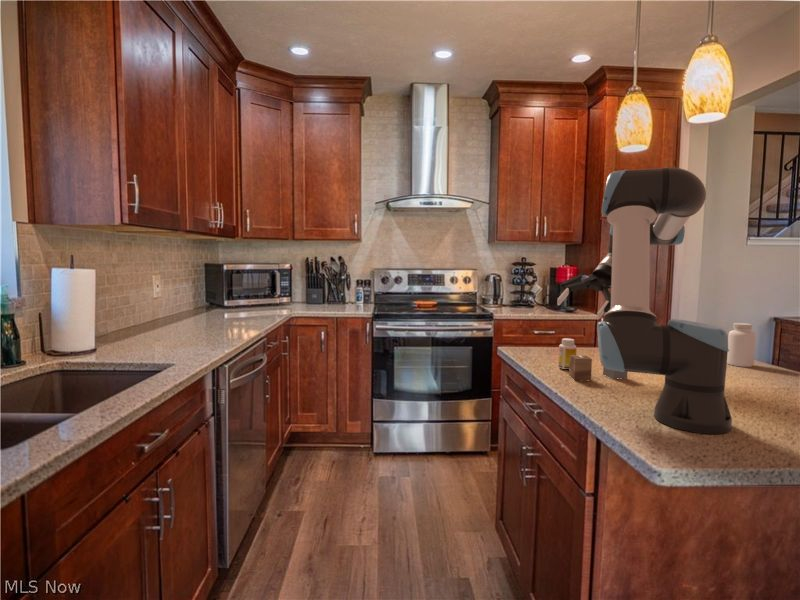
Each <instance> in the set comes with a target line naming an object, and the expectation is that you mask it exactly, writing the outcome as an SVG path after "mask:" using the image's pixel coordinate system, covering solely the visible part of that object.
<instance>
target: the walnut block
mask: <svg viewBox="0 0 800 600" xmlns="http://www.w3.org/2000/svg"><path fill="white" fill-rule="evenodd" d="M592 364H593V358H591V357H589V356H588V355H586V354H585V355H583V354H582V355H580V354H579V355H577V354H576V355H570V370H568V372H569V373H568V374H569V375H568V376H571V377H572V378H573V379H574V380H591V381H592V368H593V367H592V366H593V365H592ZM573 379H572V380H573ZM574 380H573V381H574Z"/></svg>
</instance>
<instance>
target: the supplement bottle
mask: <svg viewBox="0 0 800 600" xmlns="http://www.w3.org/2000/svg"><path fill="white" fill-rule="evenodd" d="M570 355H577V345H575V339H573V338H570V337H567V338H566V337H564V338H562V339H561V343H560V344H559V346H558V369H560V368H562V369H570ZM562 369H561V370H562Z"/></svg>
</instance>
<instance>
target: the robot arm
mask: <svg viewBox="0 0 800 600" xmlns="http://www.w3.org/2000/svg"><path fill="white" fill-rule="evenodd" d="M605 183H606V184H605V187H604V193H603V199H602V204H601V215H603V216H606V220H607V222H608V224H610V227H609V237H608V238H609V239H608V250H607V254H606V256H605V257H603V259H602V260H601V261H600V262H599V264H598V265H597V266H596V267H595V269H594V270H593V271H592V272H591V274H589V275H586V274H585V272H580V273H578V275H576V276H574V277H571V278H569V279H567V280H565V281H563V282H561V283H560V292H559V297H557V298H556V299H557V301H556V302H557V303H556V304H557V306H561V304H562V303H563V302H564V301H565V300H566V298H567V297H568V296H569V295H570V294H569V293H571V292H575V291H578V290H588V289H589V290H593V291H597V292H601V294H602V295H603V296H604V299H605V302H604V303H603V304H602V306H601V307H600V308H599V309H598V310H597V312H596V319H597V320H600V319H601V318H602V316H603V320H601V321H598V322H597V325H596V332H597V334H596V335H597V346H598V355H599V360H600V363H601V366H602V367H604V368H606V369H609V370H616V371H621V372H624V371H625V372H628V373H637V374H649V375H659V376H661V375H662V376H664V385H663V388H662V390H661V393H660V394H659V397H658V398H657V401H656V403H655V405H654V410H653V411H654V412H653V417H654V419H655V420H656V421H658V422H659V423H661V424H664V425H665V426H669V427H672V428H675V429H678V430H682V431H687V432H691V433H692V432H693V433H698V434H708V435H712V434H713V435H717V434H721V435H722V434H726V433H729V432H731V430H732V425H733V424H732V423H733V421H732V420H733V419H732V416H731V412H730V409H729V404H728V403H727V402H728V401H727V399H726V396H725V389H726V388H725V386H726V376H727V354H728V352H729V349H728V332H727V331H726V330H725V329H723V328H721V327H718V326H714V325H711V324H706V323H704V322H702V323H701V322H697V321H691V320H684V319H675V318H671V319H669V320H668V322H667V325H663V324H658V323H657V322H658V320H657V319H658V317H657V315H655V313H653V312H652V311H651V310H650V290H651V289H650V284H651V283H650V280H651V277H650V273H651V272H650V271H651V270H650V269H651V268H650V263H651V262H650V259H651V258H650V257H651V256H650V253H651V252H650V251H651V250H650V246H674V245H677V246H678V245H682V243H683V242H684V238H685V231H686V230H685V225H686V224H687V223H686V222H688V220H689V219H690V217H693V216H694V215H696V214H697V213H698V212H699V211H700V210H701V208H702V207H703V206H704V205H705V202H706V199H707V191H706V187H705V184H704V183H703V181H702V180H701V179H700V178H699V177H698V176H697V175H696V174H695V173H692V172H691V171H690V170H686V169H684V168H680V167H660V168H658V167H657V168H646V169H645V168H644V169H643V168H642V169H630V170H629V169H628V168H627V169H624V170H622V169H621V170H615V171H612V172H610V173H609V174H608V176H607V179H606V182H605ZM609 289H610V290H609Z"/></svg>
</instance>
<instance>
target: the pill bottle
mask: <svg viewBox="0 0 800 600" xmlns="http://www.w3.org/2000/svg"><path fill="white" fill-rule="evenodd" d="M752 330H753V324H752V323H745V322H734V323H733V330H730V331H729V332H728V333H727V335H728V349H729V352H728V354H727V364H728V365H730V366H733V365H734V366H735V367H739V366H740V367H741V368H751V367H753V366H754V364H755V363H754V361H755V351H756V342H757V341H756V339H757V336H756V333H754V332H753V331H752Z"/></svg>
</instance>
